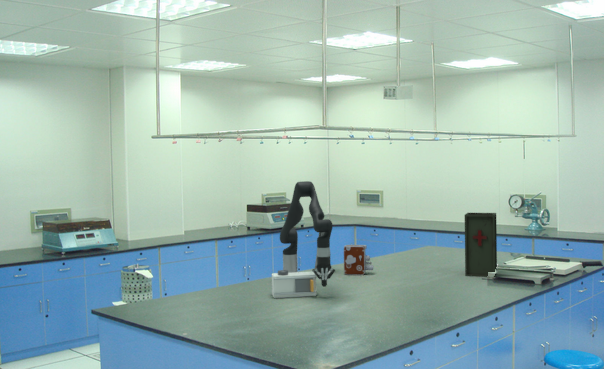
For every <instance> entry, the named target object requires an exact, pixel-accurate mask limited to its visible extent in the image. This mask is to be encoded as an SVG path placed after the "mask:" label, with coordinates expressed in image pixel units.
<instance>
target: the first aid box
mask: <svg viewBox="0 0 605 369" xmlns="http://www.w3.org/2000/svg"><path fill="white" fill-rule="evenodd" d="M497 240H498V239H497V212H467V213H465V214H464V265H465V267H464V268H465V269H464V271H465V273H464V274H465V277H477V278H478V277H479V278H480V277H481V278H488V277H487V276H488V272H495V269H496V267H497V268H498V254H497V252H498V251H497V250H498V249H497V247H498V245H497V243H498V241H497Z"/></svg>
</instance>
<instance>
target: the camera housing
mask: <svg viewBox="0 0 605 369" xmlns="http://www.w3.org/2000/svg"><path fill="white" fill-rule="evenodd" d="M310 278H313V281H314V292H311V291H306V292H295V279H310ZM317 293H318V292H317V276H316V275H315V274H314V272H313V271H312V270H311V271H297V272H292V273H288V270H283V269H279V270H277V272H274V273H271V295H272V297H273V298H274V299H281V298H298V297H316V296H317Z"/></svg>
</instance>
